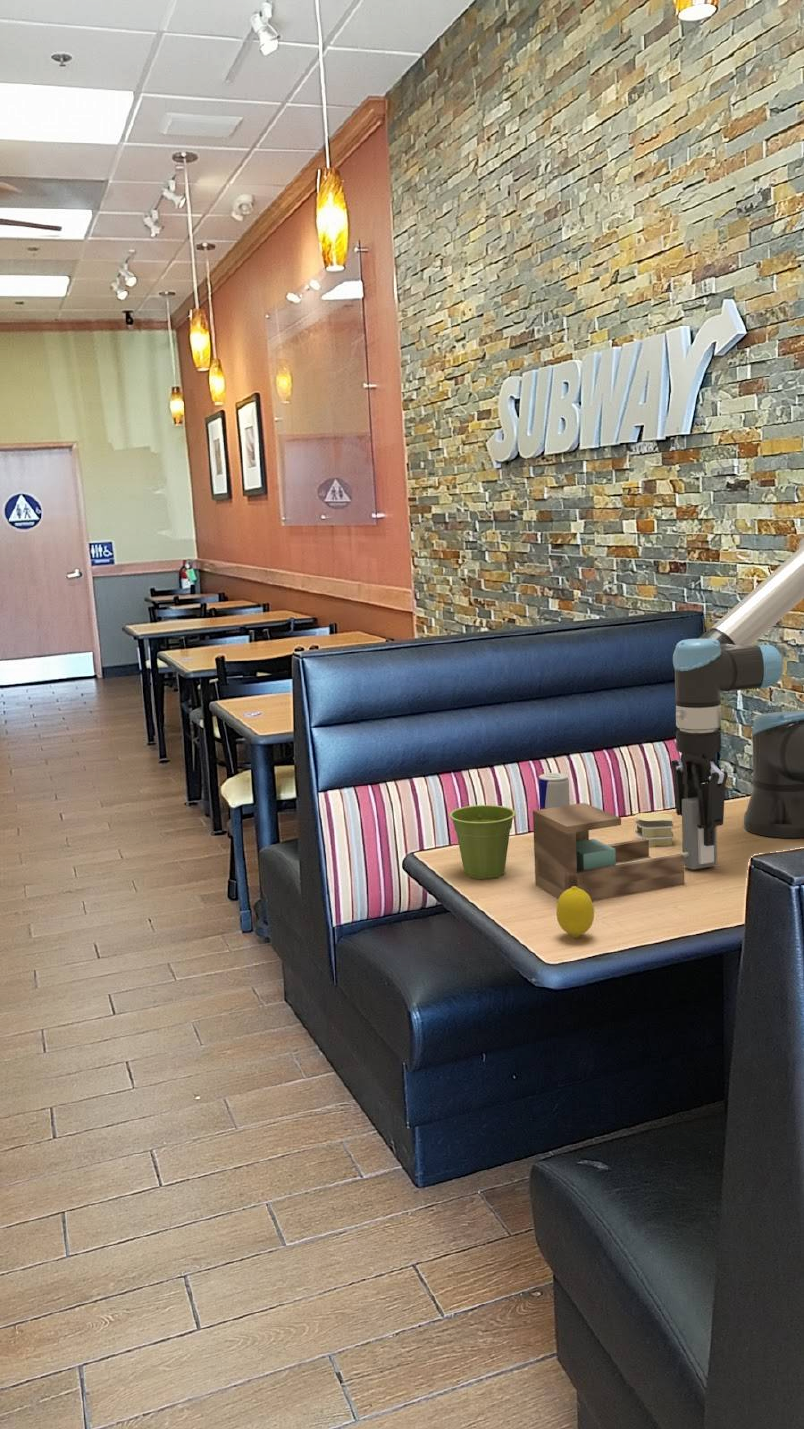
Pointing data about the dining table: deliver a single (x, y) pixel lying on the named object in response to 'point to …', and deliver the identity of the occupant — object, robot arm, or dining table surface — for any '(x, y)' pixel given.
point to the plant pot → (483, 838)
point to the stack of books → (655, 828)
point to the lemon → (575, 911)
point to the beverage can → (553, 790)
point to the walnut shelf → (559, 868)
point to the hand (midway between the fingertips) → (699, 859)
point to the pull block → (603, 855)
